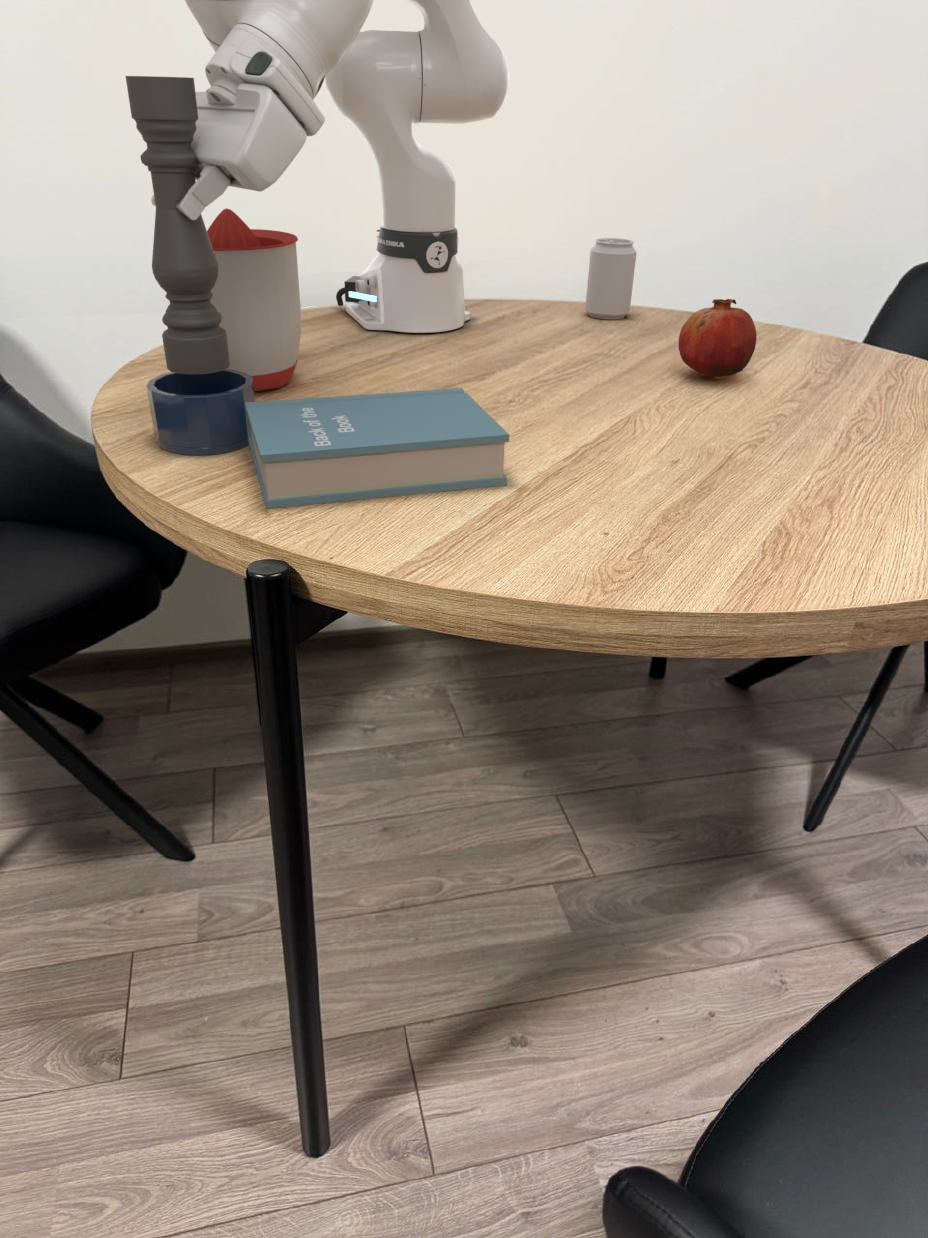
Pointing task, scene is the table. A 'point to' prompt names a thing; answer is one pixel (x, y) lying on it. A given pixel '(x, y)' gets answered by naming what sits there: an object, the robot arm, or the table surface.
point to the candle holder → (179, 225)
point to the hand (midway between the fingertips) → (171, 211)
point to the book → (373, 446)
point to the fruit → (718, 340)
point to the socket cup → (200, 411)
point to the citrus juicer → (257, 299)
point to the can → (610, 278)
